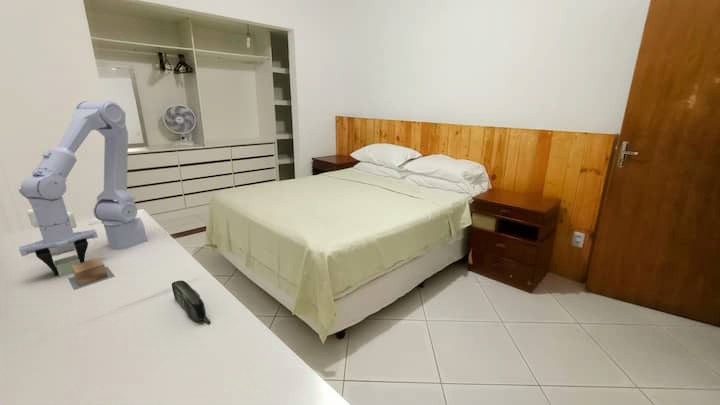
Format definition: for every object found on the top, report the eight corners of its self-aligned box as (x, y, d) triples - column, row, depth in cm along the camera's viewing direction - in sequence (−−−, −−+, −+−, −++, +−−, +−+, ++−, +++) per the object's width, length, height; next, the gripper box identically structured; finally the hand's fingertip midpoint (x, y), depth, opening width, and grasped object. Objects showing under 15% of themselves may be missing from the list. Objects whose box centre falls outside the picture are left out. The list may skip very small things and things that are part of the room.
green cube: (80, 269, 87) (76, 254, 85) (84, 275, 84) (79, 259, 82) (58, 276, 83) (53, 260, 82) (61, 282, 80) (56, 266, 79)
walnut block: (102, 269, 83) (99, 257, 82) (107, 276, 80) (104, 264, 79) (75, 277, 79) (71, 265, 78) (79, 285, 76) (75, 272, 75)
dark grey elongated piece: (168, 282, 71) (194, 307, 62) (182, 276, 74) (210, 300, 64) (172, 301, 73) (199, 329, 63) (186, 295, 75) (214, 321, 65)
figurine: (85, 247, 99) (71, 202, 95) (44, 259, 92) (28, 210, 88) (79, 241, 104) (66, 198, 99) (39, 252, 97) (23, 206, 92)
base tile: (108, 271, 85) (107, 266, 85) (116, 281, 80) (115, 276, 80) (69, 283, 80) (68, 278, 79) (75, 295, 75) (73, 289, 74)
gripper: (13, 235, 71) (32, 287, 75) (94, 218, 82) (107, 264, 86) (11, 227, 76) (30, 277, 80) (88, 212, 86) (101, 257, 90)
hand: (69, 270), depth 83 cm, fingers closed on green cube, 4 cm apart
